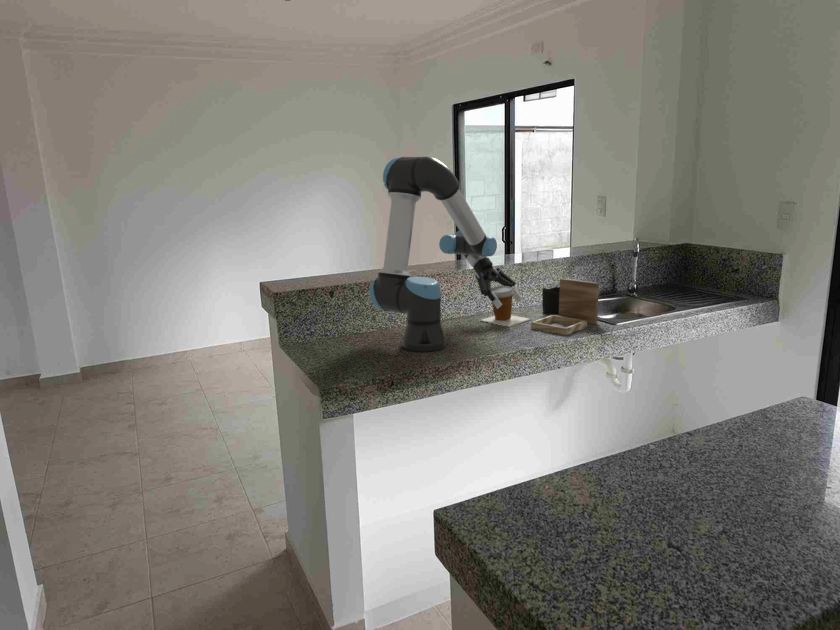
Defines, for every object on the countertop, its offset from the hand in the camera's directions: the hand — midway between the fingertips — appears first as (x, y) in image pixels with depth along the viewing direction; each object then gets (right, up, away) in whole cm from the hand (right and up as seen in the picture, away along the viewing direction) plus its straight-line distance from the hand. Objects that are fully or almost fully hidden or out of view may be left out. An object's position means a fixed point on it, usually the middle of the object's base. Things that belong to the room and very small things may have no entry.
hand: (510, 303), depth 239 cm
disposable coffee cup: (-2, -6, +4) cm, 7 cm away
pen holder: (+20, -3, +16) cm, 26 cm away
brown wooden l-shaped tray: (+20, -9, -6) cm, 22 cm away
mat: (-2, -7, +3) cm, 8 cm away
